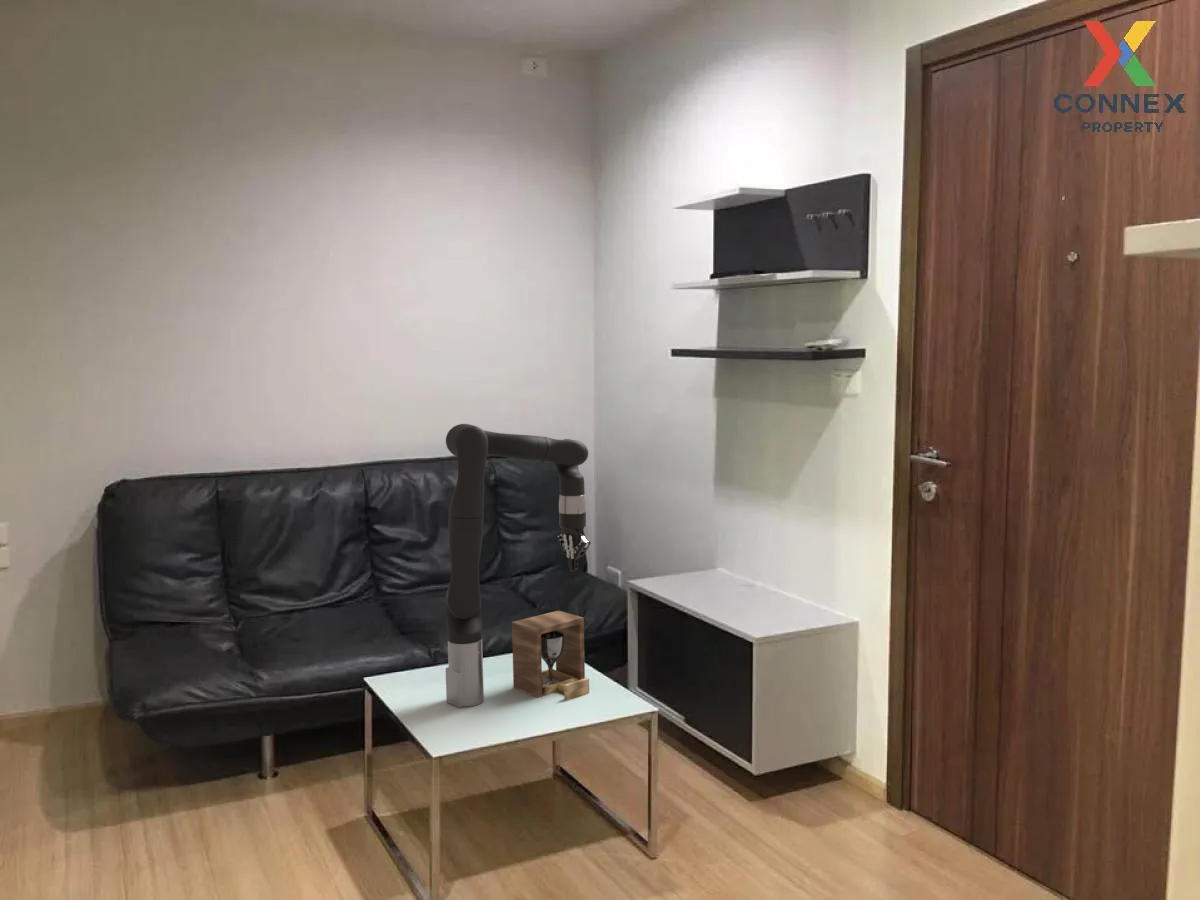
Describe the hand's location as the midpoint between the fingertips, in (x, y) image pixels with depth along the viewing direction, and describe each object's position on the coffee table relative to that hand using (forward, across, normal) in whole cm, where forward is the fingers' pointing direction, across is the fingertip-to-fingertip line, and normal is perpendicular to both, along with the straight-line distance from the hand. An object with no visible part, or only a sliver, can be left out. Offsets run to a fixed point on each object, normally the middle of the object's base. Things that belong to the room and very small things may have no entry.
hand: (573, 570), depth 289 cm
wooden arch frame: (+32, -2, -8) cm, 33 cm away
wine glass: (+32, -1, -8) cm, 33 cm away
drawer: (+32, +1, -8) cm, 33 cm away
